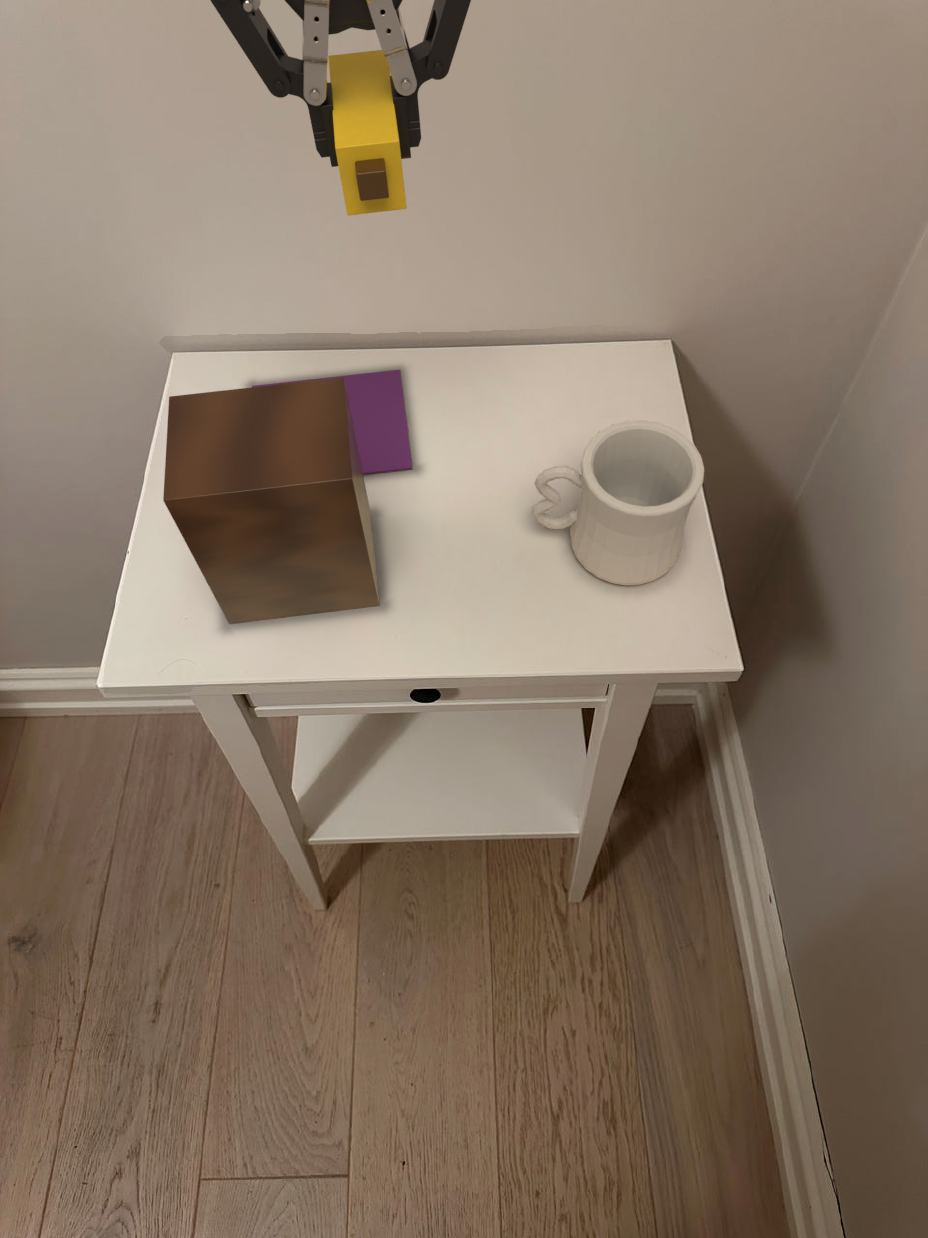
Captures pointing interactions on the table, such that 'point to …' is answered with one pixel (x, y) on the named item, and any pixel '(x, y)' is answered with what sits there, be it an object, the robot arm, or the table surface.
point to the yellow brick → (366, 133)
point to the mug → (628, 500)
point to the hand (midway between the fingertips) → (370, 153)
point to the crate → (272, 498)
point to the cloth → (377, 420)
